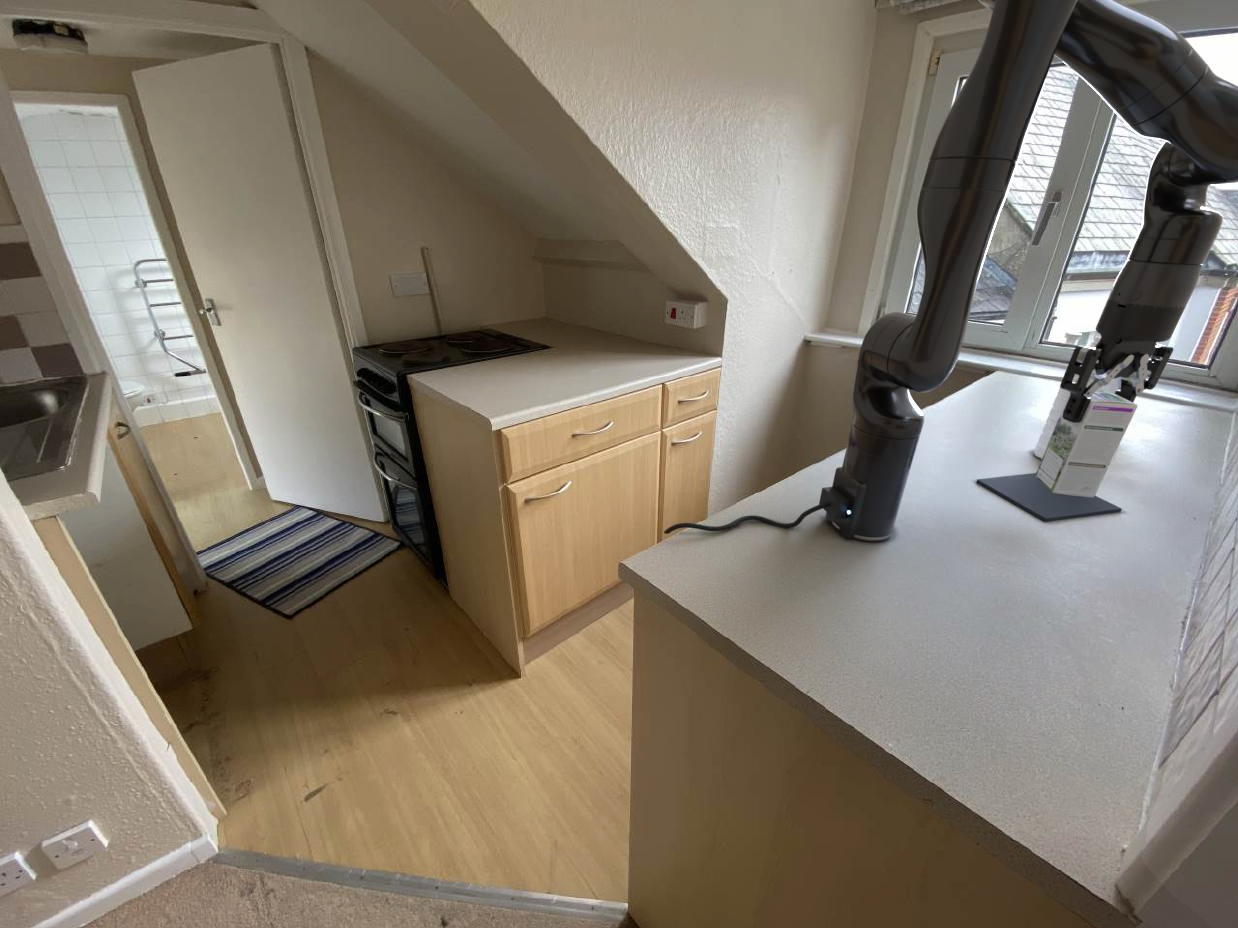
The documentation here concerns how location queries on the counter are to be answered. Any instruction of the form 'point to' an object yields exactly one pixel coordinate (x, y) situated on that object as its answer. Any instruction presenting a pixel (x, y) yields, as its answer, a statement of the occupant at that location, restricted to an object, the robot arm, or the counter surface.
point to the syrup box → (1085, 446)
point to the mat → (1045, 498)
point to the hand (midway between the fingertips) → (1092, 419)
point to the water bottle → (1059, 404)
